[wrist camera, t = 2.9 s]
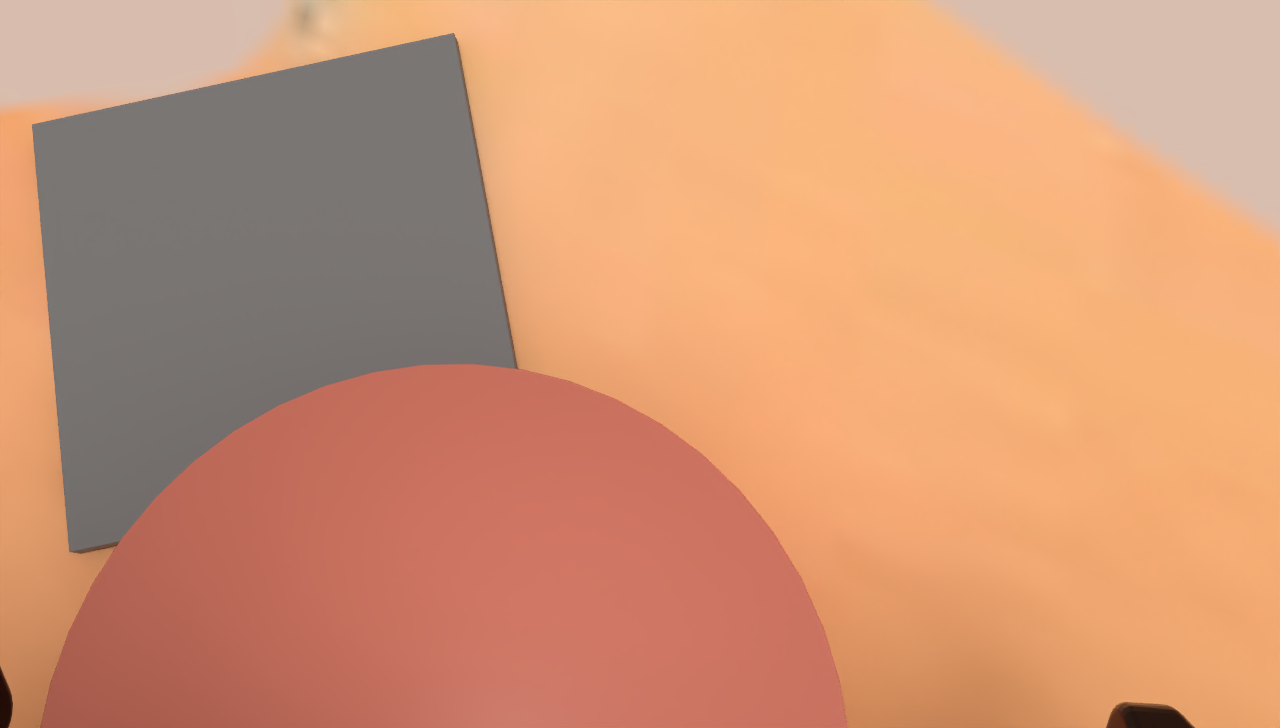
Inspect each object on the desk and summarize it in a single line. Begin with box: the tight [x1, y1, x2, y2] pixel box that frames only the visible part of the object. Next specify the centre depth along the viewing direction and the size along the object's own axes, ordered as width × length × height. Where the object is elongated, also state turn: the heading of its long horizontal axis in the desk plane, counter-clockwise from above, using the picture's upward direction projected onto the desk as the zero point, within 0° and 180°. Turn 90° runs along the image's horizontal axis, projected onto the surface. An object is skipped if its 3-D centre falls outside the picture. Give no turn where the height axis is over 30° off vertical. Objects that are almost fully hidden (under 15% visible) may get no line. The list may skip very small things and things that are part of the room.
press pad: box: [32, 33, 518, 553], centre depth 19 cm, size 7×7×1 cm
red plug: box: [40, 364, 848, 728], centre depth 12 cm, size 4×4×11 cm
